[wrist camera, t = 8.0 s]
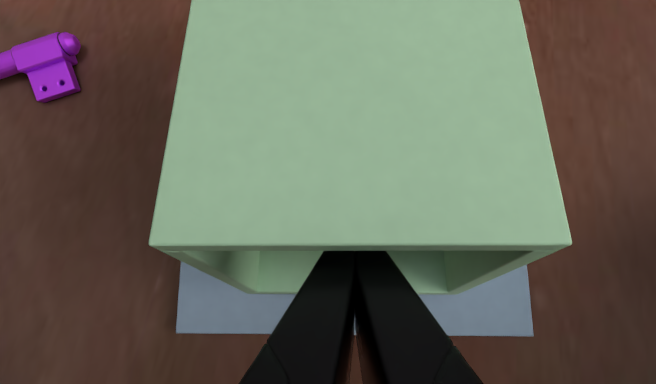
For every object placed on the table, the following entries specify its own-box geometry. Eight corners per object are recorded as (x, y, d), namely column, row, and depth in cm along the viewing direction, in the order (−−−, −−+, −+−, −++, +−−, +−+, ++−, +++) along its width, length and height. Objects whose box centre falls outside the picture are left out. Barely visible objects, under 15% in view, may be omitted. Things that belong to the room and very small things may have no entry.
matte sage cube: (458, 294, 14) (574, 244, 7) (246, 294, 14) (146, 245, 7) (435, 83, 17) (498, -100, 10) (263, 87, 17) (206, -88, 10)
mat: (529, 334, 15) (534, 336, 15) (179, 331, 16) (175, 333, 16) (489, -94, 19) (492, -102, 19) (208, -83, 20) (205, -90, 19)
